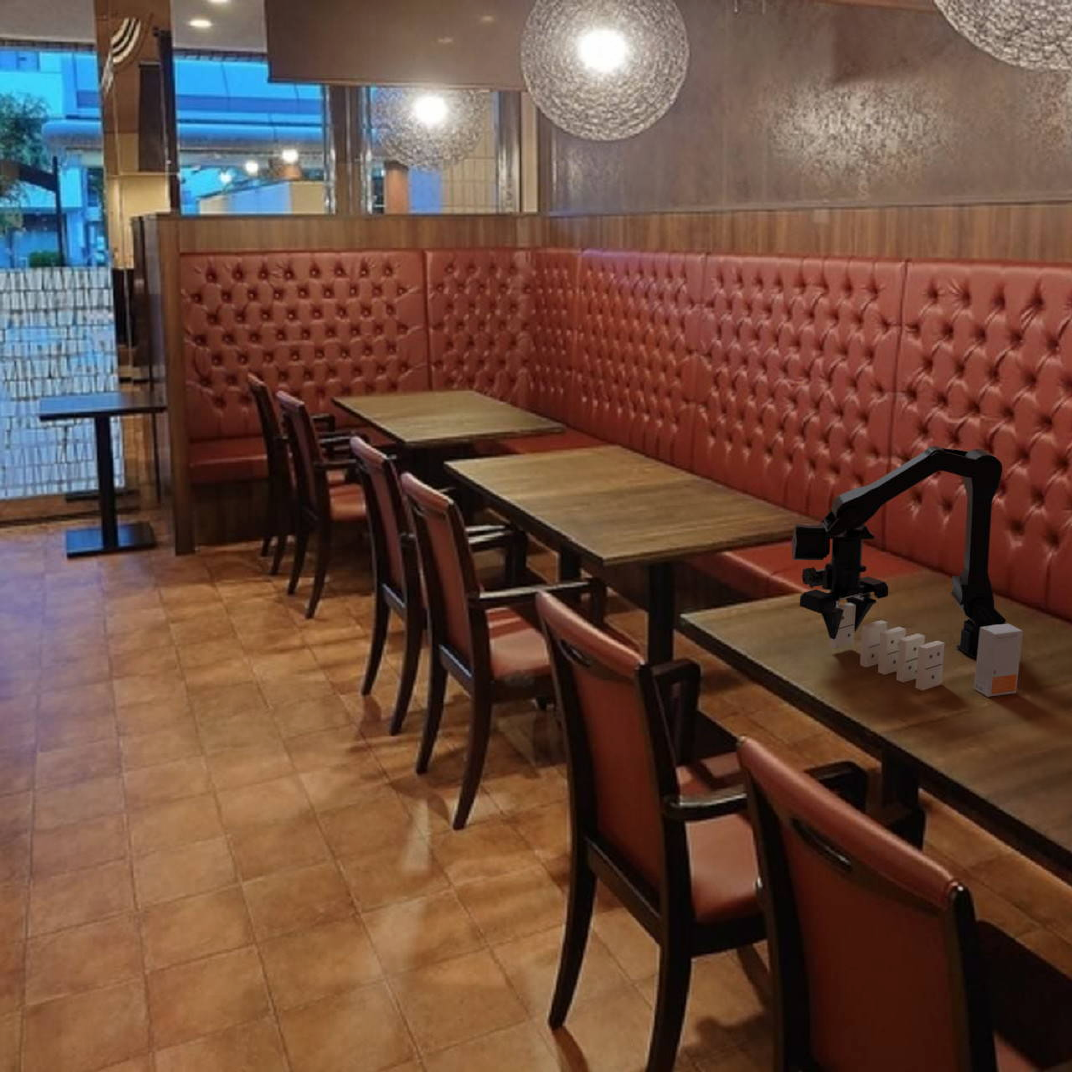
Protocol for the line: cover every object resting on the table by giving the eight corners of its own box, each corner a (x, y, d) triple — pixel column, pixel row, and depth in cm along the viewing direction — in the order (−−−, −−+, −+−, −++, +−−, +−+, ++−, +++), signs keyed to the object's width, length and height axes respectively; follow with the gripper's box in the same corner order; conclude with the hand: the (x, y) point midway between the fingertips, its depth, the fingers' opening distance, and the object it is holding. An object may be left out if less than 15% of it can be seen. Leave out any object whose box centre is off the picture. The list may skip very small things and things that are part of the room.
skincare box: (988, 698, 200) (994, 634, 196) (973, 688, 204) (978, 626, 200) (1017, 693, 201) (1024, 630, 198) (1002, 684, 205) (1008, 622, 202)
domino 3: (877, 672, 212) (880, 631, 210) (896, 666, 215) (899, 626, 212) (884, 674, 211) (887, 634, 209) (903, 669, 213) (906, 629, 211)
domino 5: (915, 687, 205) (918, 646, 203) (934, 681, 207) (937, 640, 205) (923, 690, 203) (926, 648, 201) (941, 684, 206) (945, 643, 204)
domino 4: (896, 679, 208) (899, 638, 206) (914, 673, 211) (917, 633, 209) (903, 682, 207) (906, 641, 205) (922, 676, 210) (925, 636, 207)
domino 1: (829, 646, 222) (831, 607, 220) (847, 640, 224) (849, 602, 222) (835, 648, 221) (837, 609, 218) (853, 643, 223) (856, 605, 221)
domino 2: (860, 664, 216) (862, 625, 214) (878, 659, 218) (880, 620, 216) (866, 667, 214) (869, 627, 212) (885, 661, 217) (887, 622, 215)
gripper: (849, 542, 229) (845, 615, 233) (781, 558, 220) (778, 633, 224) (892, 555, 220) (887, 630, 224) (823, 572, 211) (819, 650, 215)
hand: (842, 635), depth 222 cm, fingers closed on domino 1, 5 cm apart
